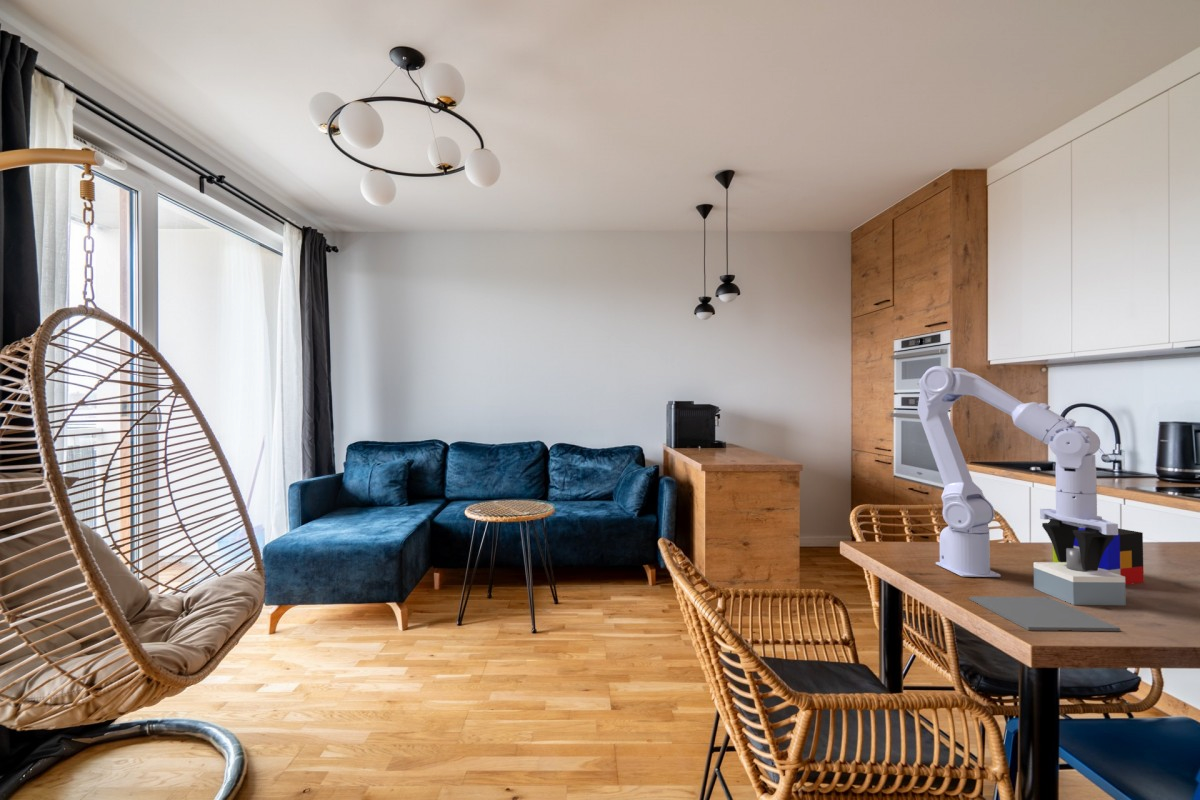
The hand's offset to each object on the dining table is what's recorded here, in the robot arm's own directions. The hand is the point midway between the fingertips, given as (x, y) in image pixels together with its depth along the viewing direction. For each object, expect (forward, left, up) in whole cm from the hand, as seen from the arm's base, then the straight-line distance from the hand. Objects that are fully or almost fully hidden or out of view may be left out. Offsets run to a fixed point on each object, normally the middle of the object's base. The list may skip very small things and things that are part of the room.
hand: (1077, 565), depth 100 cm
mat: (+9, -14, -6) cm, 18 cm away
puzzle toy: (-12, +14, -6) cm, 19 cm away
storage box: (0, 0, -6) cm, 6 cm away
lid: (0, 0, -2) cm, 2 cm away
